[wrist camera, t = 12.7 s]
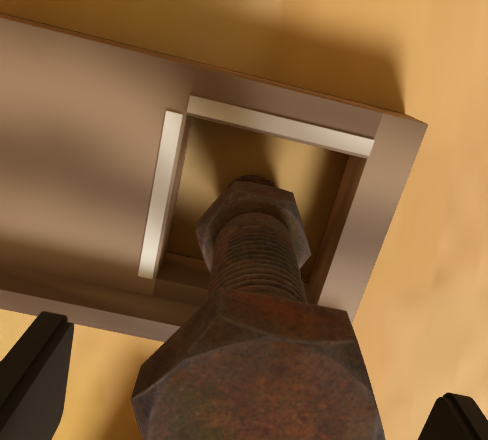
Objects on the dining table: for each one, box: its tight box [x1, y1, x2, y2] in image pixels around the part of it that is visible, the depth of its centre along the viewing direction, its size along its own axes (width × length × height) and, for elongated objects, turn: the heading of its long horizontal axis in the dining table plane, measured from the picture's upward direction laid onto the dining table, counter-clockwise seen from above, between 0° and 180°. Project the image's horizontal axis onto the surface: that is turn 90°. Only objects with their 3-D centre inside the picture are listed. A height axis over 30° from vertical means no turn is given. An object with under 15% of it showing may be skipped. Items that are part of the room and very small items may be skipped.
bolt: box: [131, 175, 385, 440], centre depth 17 cm, size 6×5×15 cm
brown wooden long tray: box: [0, 13, 428, 342], centre depth 21 cm, size 12×30×5 cm, turn 77°
